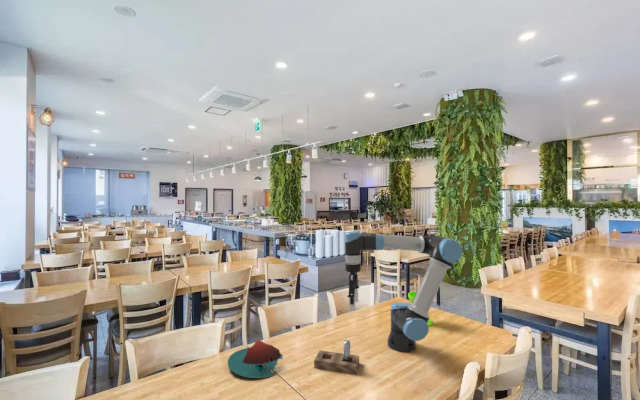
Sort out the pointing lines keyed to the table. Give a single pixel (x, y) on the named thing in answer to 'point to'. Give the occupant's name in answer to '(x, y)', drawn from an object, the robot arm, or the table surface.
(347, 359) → the peg
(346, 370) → the socket block
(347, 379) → the table surface
